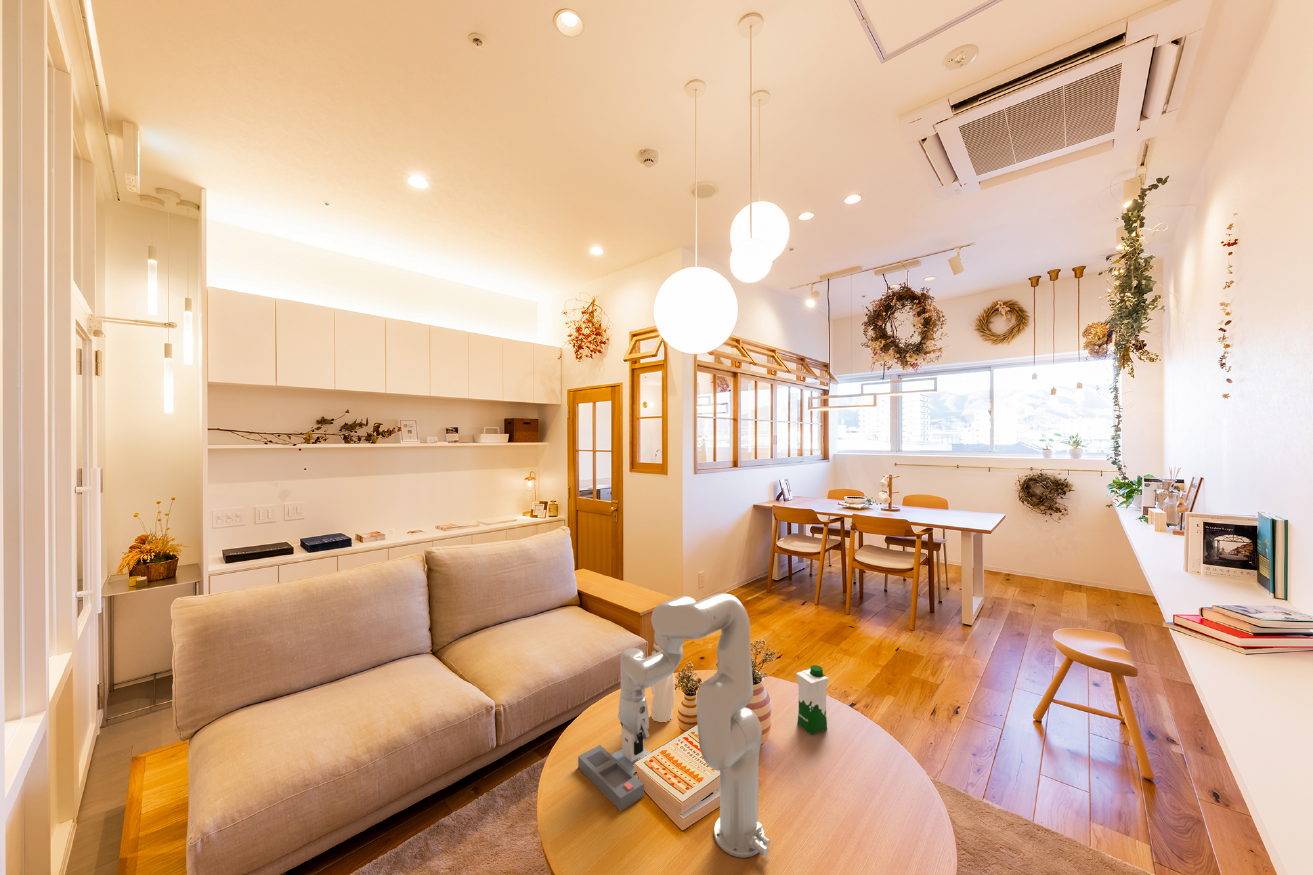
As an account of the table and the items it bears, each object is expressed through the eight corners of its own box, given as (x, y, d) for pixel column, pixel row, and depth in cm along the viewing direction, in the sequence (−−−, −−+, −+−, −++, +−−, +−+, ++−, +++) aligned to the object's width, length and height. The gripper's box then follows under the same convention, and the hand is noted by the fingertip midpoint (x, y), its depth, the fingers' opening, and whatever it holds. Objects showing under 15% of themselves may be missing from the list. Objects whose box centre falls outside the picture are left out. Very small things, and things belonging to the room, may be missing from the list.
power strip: (643, 796, 132) (643, 782, 132) (620, 811, 127) (620, 796, 127) (600, 755, 149) (599, 743, 149) (578, 767, 143) (578, 754, 143)
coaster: (657, 760, 146) (657, 758, 146) (629, 776, 139) (629, 775, 139) (635, 742, 155) (635, 741, 155) (608, 757, 148) (608, 756, 148)
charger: (644, 754, 147) (644, 729, 147) (631, 761, 143) (631, 735, 143) (634, 746, 151) (634, 721, 150) (621, 753, 147) (621, 728, 147)
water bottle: (674, 726, 163) (674, 646, 163) (649, 726, 163) (648, 646, 163) (674, 709, 173) (674, 634, 173) (650, 709, 174) (649, 634, 173)
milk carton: (831, 730, 161) (831, 672, 161) (811, 737, 157) (810, 678, 157) (812, 716, 169) (812, 661, 169) (793, 722, 165) (793, 666, 165)
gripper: (659, 697, 143) (659, 757, 143) (626, 676, 156) (626, 730, 156) (640, 707, 138) (640, 768, 138) (607, 683, 151) (607, 740, 151)
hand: (633, 747), depth 147 cm, fingers closed on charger, 4 cm apart
